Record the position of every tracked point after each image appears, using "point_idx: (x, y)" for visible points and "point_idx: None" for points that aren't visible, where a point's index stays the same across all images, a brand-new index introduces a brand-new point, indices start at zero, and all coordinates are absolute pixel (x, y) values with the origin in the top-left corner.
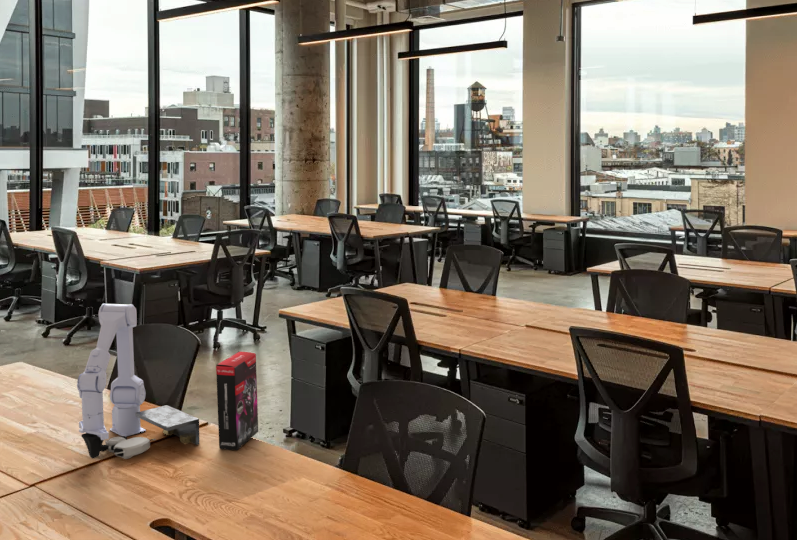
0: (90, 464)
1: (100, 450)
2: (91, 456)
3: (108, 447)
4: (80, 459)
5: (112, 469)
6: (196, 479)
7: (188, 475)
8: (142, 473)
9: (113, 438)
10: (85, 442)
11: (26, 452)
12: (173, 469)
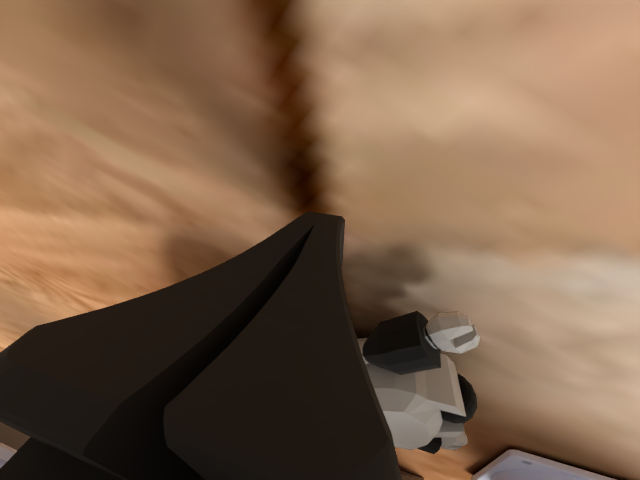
0: (303, 169)
1: (404, 320)
2: (301, 216)
3: (362, 354)
4: (476, 176)
5: (156, 206)
6: (19, 291)
7: (47, 298)
8: (79, 249)
9: (406, 432)
10: (329, 316)
11: None
12: (97, 309)
